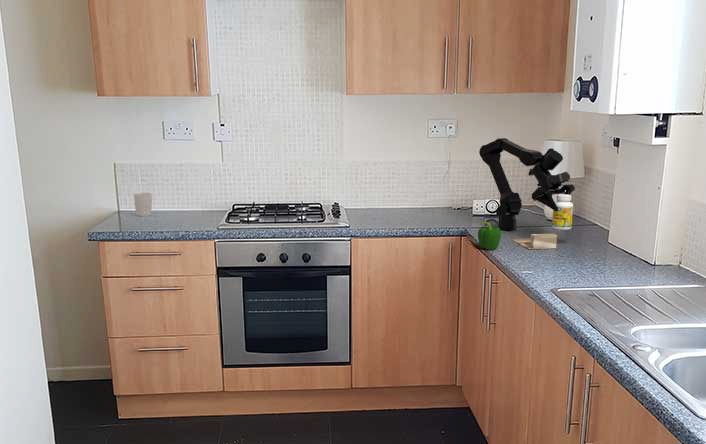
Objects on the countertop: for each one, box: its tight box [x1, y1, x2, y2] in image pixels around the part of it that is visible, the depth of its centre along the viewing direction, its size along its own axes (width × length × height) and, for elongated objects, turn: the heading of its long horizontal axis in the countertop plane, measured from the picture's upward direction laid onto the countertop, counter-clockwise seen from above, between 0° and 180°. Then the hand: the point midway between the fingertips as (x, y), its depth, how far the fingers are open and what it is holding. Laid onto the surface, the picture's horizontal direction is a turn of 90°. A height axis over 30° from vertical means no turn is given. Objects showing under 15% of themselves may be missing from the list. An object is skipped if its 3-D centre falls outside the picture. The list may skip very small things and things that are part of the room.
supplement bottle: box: [551, 194, 574, 231], centre depth 234 cm, size 7×7×13 cm
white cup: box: [133, 192, 153, 217], centre depth 286 cm, size 8×8×10 cm
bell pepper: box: [477, 221, 502, 251], centre depth 227 cm, size 8×8×10 cm
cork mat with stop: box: [511, 233, 558, 250], centre depth 234 cm, size 16×12×5 cm
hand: (564, 210), depth 234 cm, fingers closed on supplement bottle, 7 cm apart
